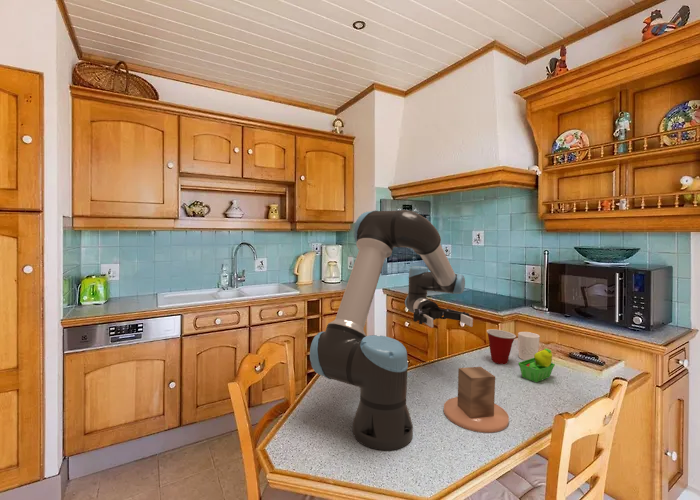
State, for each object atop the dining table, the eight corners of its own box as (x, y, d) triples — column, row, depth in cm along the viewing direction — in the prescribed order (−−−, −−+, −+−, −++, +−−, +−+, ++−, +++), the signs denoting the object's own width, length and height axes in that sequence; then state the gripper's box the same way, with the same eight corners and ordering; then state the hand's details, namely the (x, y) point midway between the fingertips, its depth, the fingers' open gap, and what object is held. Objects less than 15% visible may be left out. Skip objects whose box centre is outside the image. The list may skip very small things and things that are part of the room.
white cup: (539, 357, 143) (540, 333, 142) (537, 363, 136) (539, 338, 136) (518, 353, 147) (519, 330, 146) (516, 359, 140) (517, 335, 140)
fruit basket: (534, 370, 129) (535, 340, 128) (558, 379, 121) (560, 347, 121) (516, 376, 123) (517, 345, 122) (541, 386, 115) (543, 353, 115)
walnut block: (470, 418, 92) (471, 378, 91) (457, 405, 99) (458, 368, 98) (493, 416, 93) (495, 376, 93) (479, 403, 100) (480, 366, 99)
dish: (462, 435, 86) (462, 430, 86) (433, 402, 103) (434, 398, 103) (522, 429, 89) (523, 424, 89) (485, 398, 106) (485, 394, 106)
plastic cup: (518, 368, 131) (519, 337, 130) (488, 365, 133) (489, 335, 132) (511, 358, 141) (512, 329, 141) (483, 356, 143) (484, 327, 143)
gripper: (456, 318, 133) (487, 333, 113) (394, 319, 129) (414, 335, 108) (457, 299, 133) (487, 310, 112) (395, 299, 129) (415, 311, 108)
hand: (452, 322), depth 110 cm, fingers open, 13 cm apart
